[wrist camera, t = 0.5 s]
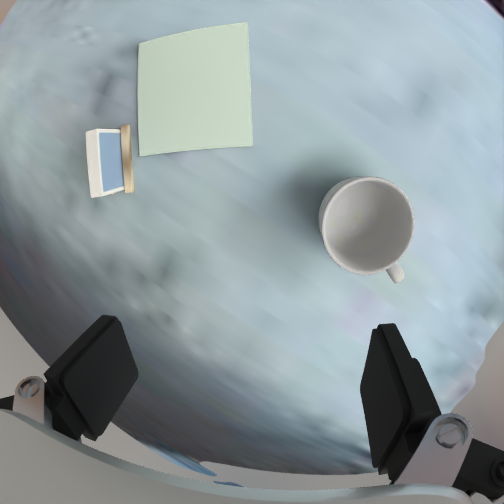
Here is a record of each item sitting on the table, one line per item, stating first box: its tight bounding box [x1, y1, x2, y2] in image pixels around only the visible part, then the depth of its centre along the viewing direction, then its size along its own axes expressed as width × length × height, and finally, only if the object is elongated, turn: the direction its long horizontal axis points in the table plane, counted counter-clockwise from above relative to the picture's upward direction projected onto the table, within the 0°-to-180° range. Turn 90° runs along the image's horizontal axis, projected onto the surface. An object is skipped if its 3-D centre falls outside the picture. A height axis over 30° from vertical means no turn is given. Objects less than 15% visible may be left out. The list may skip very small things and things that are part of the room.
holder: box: [108, 125, 134, 195], centre depth 37 cm, size 10×5×1 cm, turn 2°
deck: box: [86, 129, 125, 198], centre depth 34 cm, size 9×2×6 cm, turn 2°
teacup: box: [319, 177, 414, 283], centre depth 32 cm, size 14×11×8 cm
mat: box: [138, 22, 253, 157], centre depth 32 cm, size 18×16×1 cm
